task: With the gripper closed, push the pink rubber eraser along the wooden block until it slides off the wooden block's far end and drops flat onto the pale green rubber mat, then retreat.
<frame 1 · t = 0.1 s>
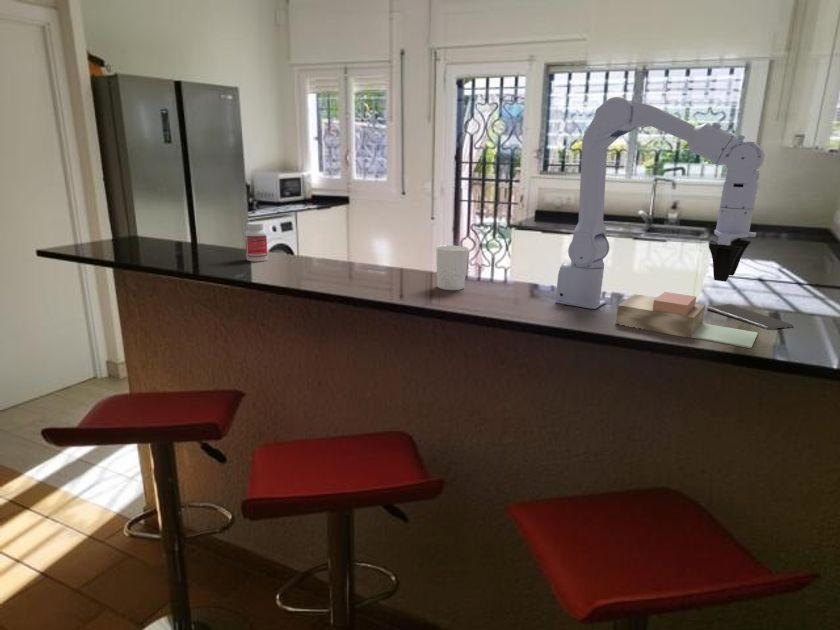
hand: (724, 277, 112), 10 cm above the worktop, fingers open, 7 cm apart
mat: (724, 335, 109), on the worktop
wooden block: (659, 324, 116), on the worktop
pink rubber eraser: (674, 308, 113), point 4 cm above the worktop, touching wooden block
pill bottle: (257, 260, 172), on the worktop
white cup: (450, 288, 143), on the worktop
smartphone: (747, 320, 122), on the worktop
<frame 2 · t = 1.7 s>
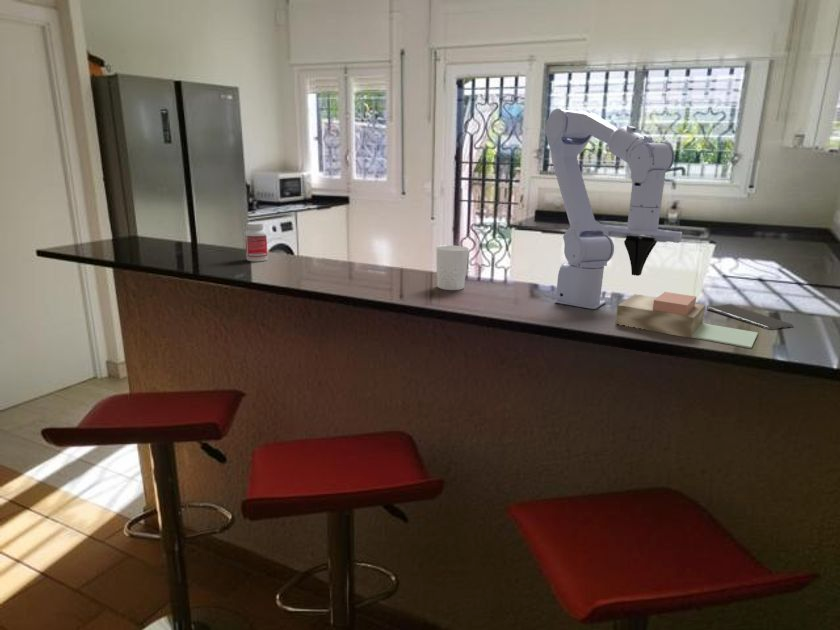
hand: (636, 274, 115), 10 cm above the worktop, fingers closed
nothing on the worktop moved.
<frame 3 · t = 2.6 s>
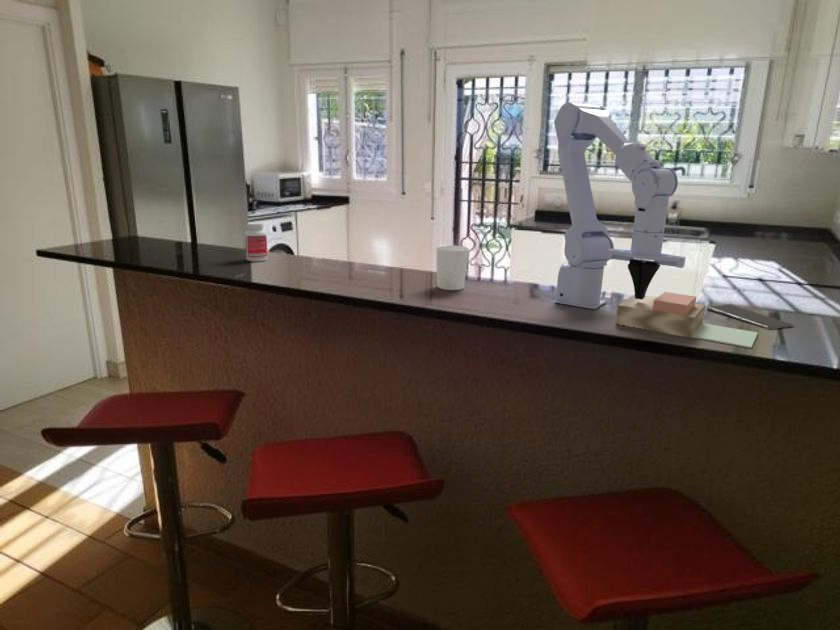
hand: (639, 298, 116), 5 cm above the worktop, fingers closed
nothing on the worktop moved.
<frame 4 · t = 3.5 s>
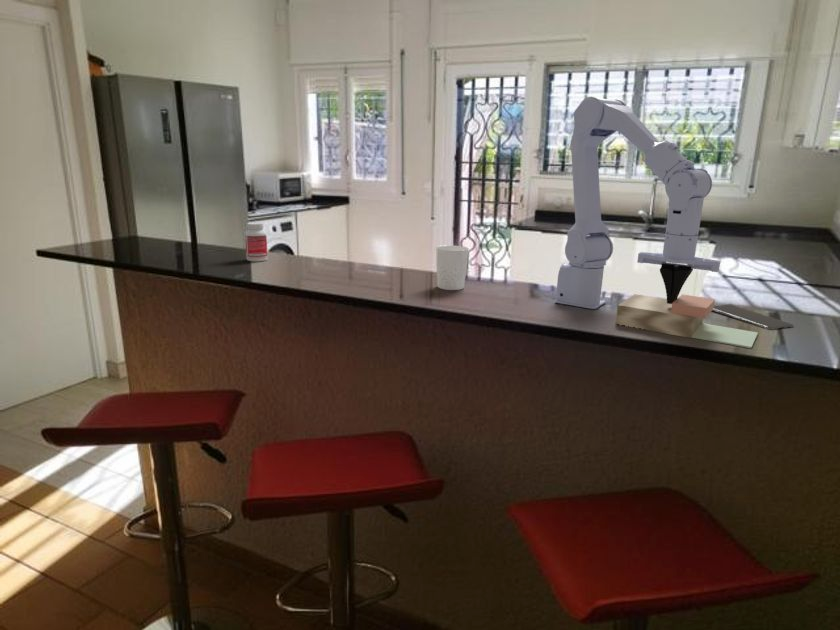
hand: (671, 303, 113), 5 cm above the worktop, fingers closed
pink rubber eraser: (692, 311, 111), point 4 cm above the worktop, touching gripper
everything else where it was.
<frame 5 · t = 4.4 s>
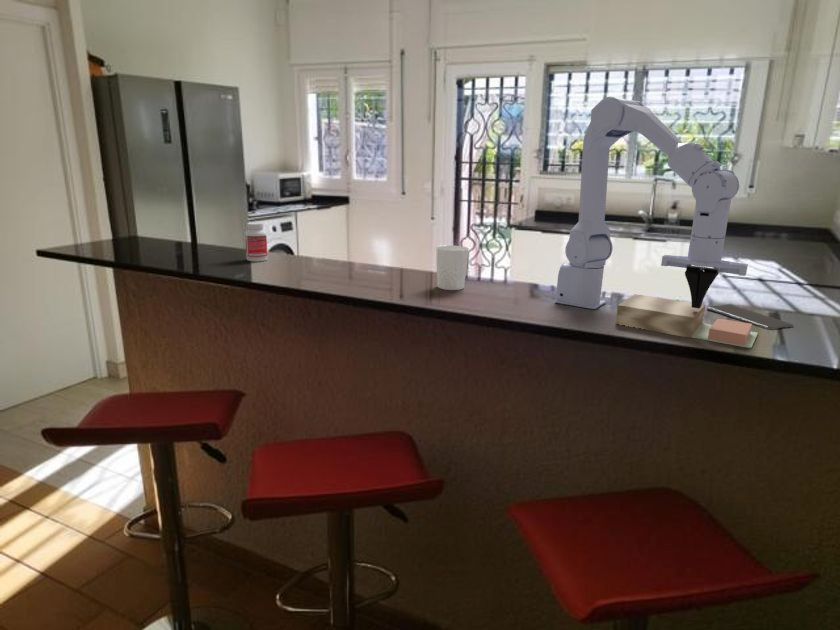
hand: (696, 307, 110), 5 cm above the worktop, fingers closed
pink rubber eraser: (731, 326, 107), point 2 cm above the worktop, tilted 180°, touching mat
everything else where it was.
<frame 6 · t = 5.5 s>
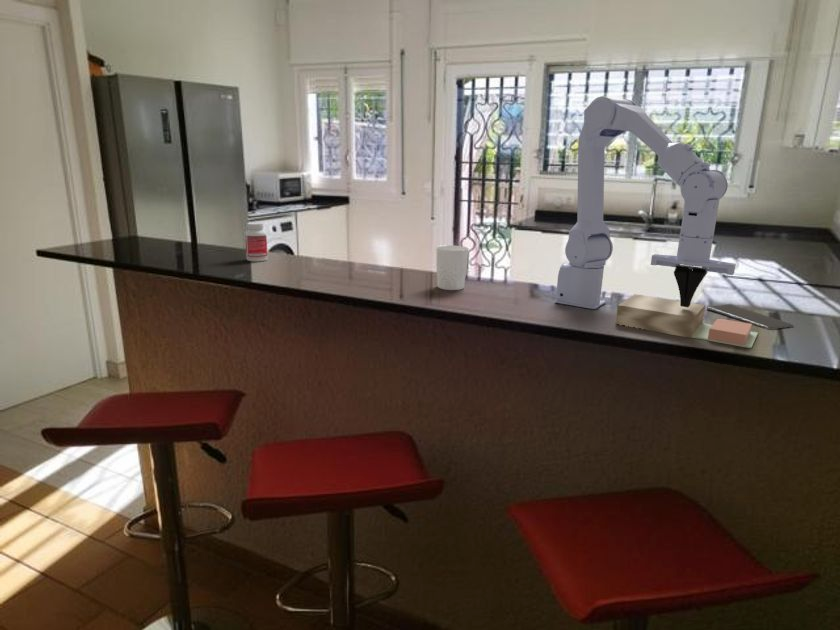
hand: (685, 305, 111), 5 cm above the worktop, fingers closed
nothing on the worktop moved.
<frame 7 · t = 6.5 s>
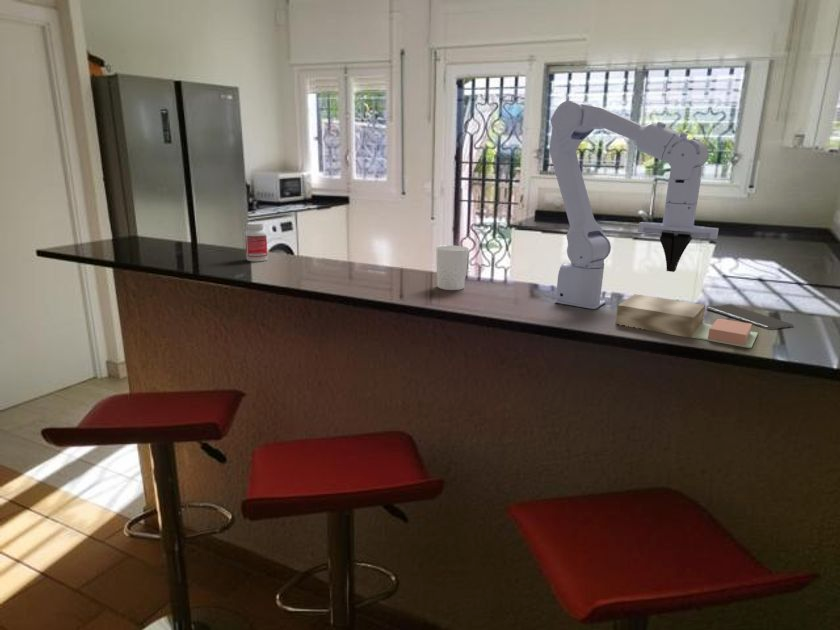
hand: (671, 270, 116), 10 cm above the worktop, fingers closed
nothing on the worktop moved.
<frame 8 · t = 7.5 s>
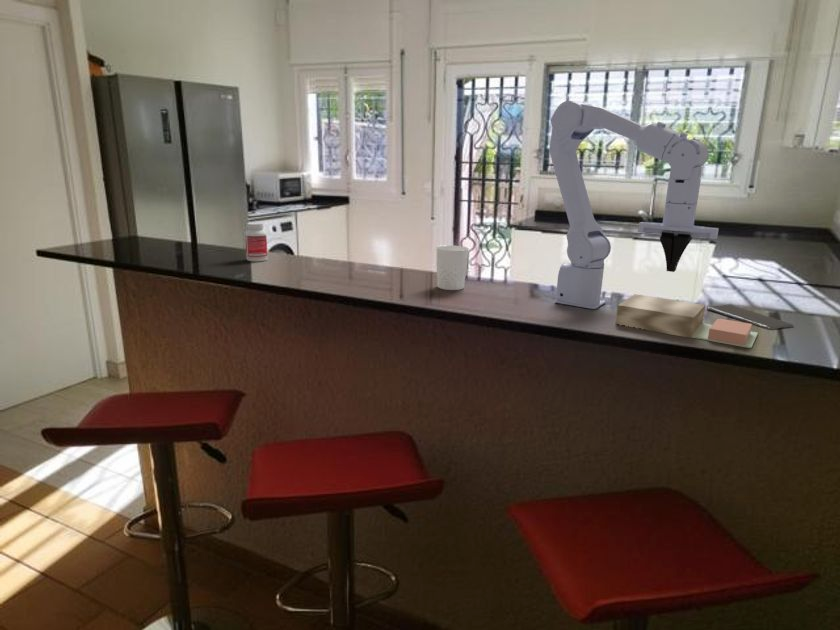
hand: (671, 270, 116), 10 cm above the worktop, fingers closed
nothing on the worktop moved.
at the end: pink rubber eraser point 2.3 cm above the worktop; pink rubber eraser inside the target area on the mat (1.2 cm from its centre), point 2.3 cm above the mat's base; pink rubber eraser moved 10.5 cm from its start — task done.
